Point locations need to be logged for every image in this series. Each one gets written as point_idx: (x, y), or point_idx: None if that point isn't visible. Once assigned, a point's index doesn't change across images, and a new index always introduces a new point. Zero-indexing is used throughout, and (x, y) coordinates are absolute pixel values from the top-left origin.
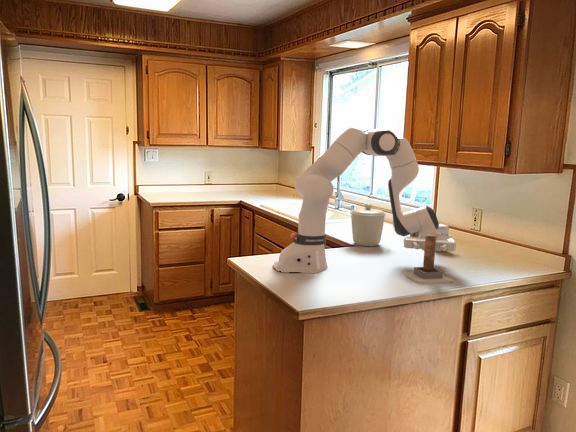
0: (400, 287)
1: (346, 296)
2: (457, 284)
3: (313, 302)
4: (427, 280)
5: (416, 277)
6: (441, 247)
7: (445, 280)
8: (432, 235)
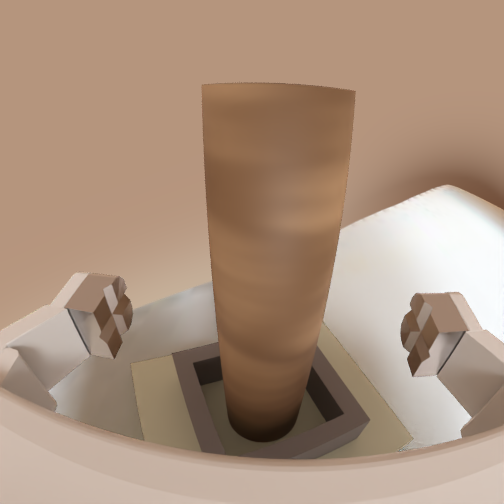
0: (369, 273)
1: (441, 214)
2: (122, 345)
3: (457, 197)
4: None
5: (330, 363)
6: (113, 277)
7: (169, 357)
8: (251, 83)
